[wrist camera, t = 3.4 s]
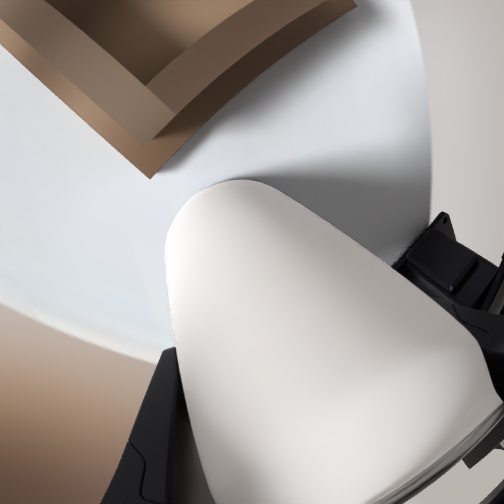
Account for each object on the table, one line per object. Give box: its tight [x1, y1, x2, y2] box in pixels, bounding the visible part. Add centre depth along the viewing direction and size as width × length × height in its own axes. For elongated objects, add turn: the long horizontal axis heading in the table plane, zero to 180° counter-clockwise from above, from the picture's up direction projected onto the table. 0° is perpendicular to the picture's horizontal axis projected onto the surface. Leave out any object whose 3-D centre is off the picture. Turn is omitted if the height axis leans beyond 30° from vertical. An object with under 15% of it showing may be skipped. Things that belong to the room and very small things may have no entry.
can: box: [165, 180, 504, 504], centre depth 9 cm, size 6×6×12 cm
